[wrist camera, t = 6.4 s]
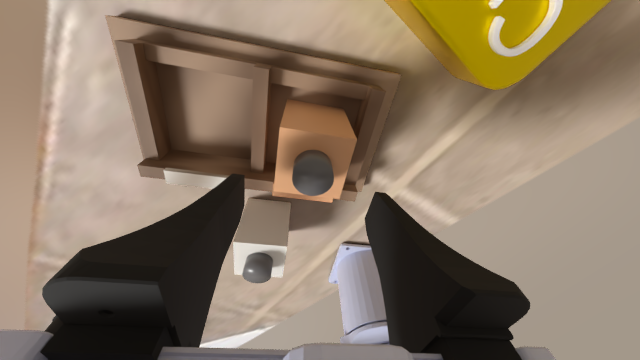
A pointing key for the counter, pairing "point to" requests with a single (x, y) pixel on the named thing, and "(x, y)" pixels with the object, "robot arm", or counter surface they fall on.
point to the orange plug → (313, 150)
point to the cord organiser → (236, 104)
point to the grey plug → (262, 240)
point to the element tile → (494, 33)
